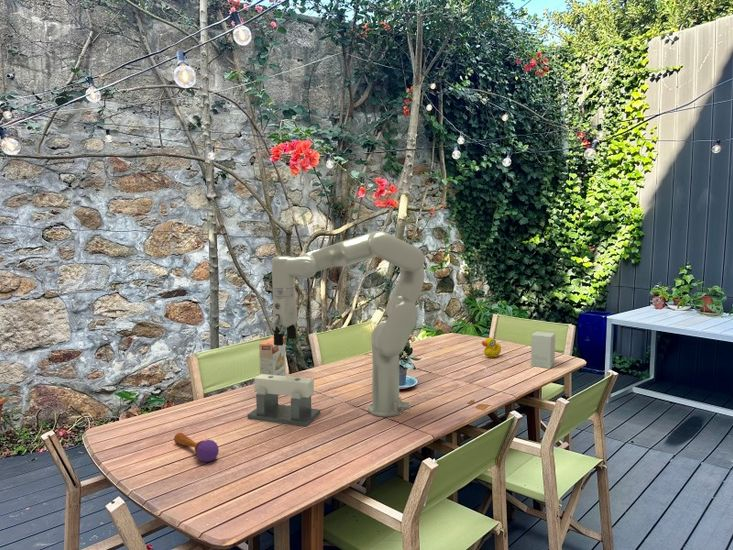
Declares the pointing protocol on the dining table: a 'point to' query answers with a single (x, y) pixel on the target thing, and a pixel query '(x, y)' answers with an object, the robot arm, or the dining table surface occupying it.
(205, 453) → the purple maraca
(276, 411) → the rack
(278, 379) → the cream rectangular bar
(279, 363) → the cracker box
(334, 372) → the dining table surface
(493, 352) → the duckling
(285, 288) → the robot arm
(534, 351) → the supplement box
